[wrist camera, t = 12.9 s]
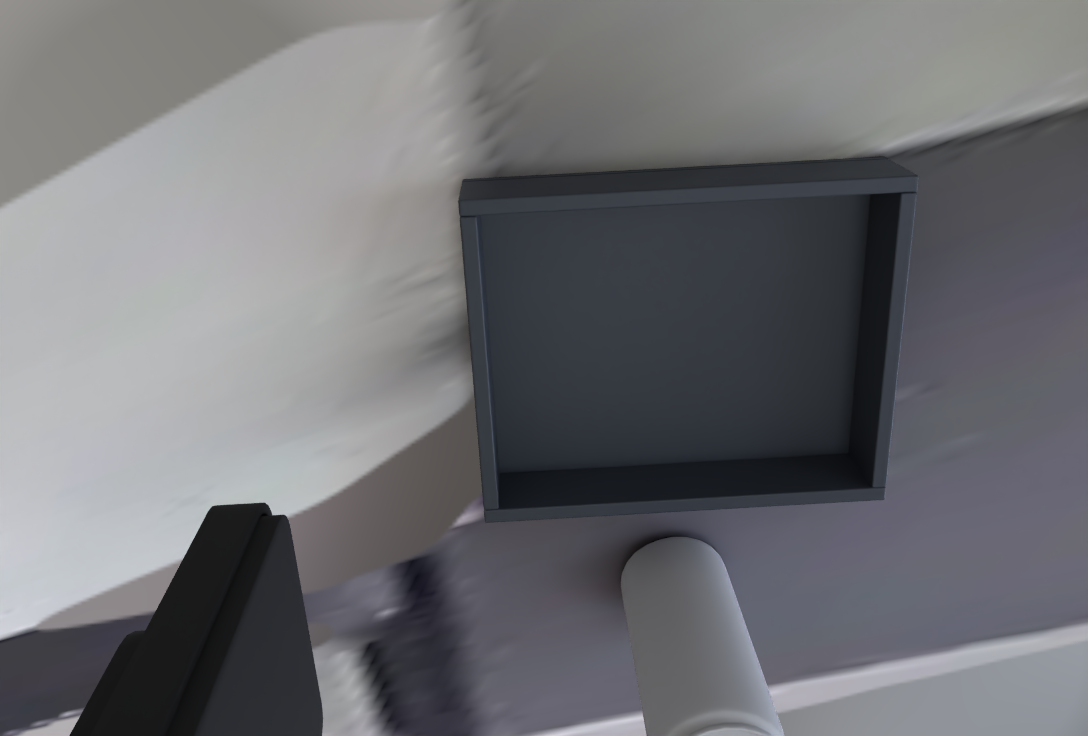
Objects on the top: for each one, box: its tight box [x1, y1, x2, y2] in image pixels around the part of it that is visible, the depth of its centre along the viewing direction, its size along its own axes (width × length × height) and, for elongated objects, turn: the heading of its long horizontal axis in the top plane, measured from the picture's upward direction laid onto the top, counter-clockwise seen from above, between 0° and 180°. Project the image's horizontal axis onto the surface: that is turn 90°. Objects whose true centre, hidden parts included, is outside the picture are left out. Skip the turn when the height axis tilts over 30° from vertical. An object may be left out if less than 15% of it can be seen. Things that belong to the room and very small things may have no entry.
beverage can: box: [621, 537, 785, 736], centre depth 39 cm, size 5×5×12 cm
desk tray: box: [458, 157, 919, 523], centre depth 38 cm, size 13×16×3 cm
